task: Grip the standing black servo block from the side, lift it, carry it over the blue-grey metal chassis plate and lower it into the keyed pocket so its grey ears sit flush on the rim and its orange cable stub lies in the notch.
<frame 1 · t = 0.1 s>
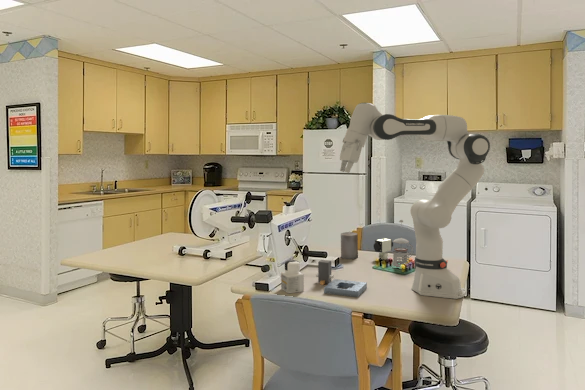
hand: (344, 171, 192), 52 cm above the table, tool tilted 20°, fingers open, 8 cm apart
french press: (402, 267, 241), on the table
pillar candle: (349, 257, 265), on the table
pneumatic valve: (382, 259, 260), on the table
servo block: (324, 282, 214), on the table
chassis plate: (345, 290, 201), on the table
container: (292, 290, 203), on the table
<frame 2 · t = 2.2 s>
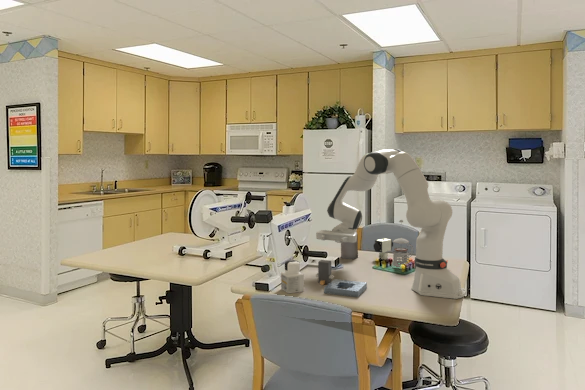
hand: (332, 239, 223), 18 cm above the table, tool horizontal, fingers open, 8 cm apart
nothing on the table moved.
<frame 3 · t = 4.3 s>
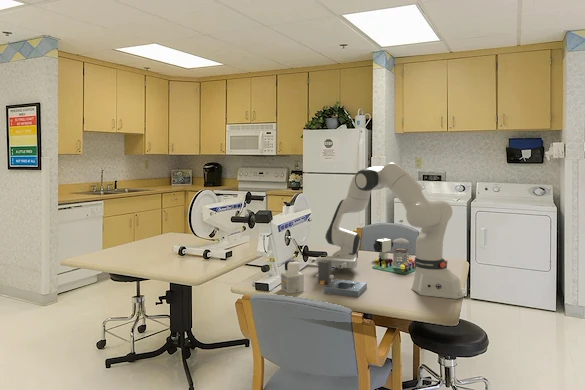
hand: (331, 265, 222), 6 cm above the table, tool horizontal, fingers open, 8 cm apart
nothing on the table moved.
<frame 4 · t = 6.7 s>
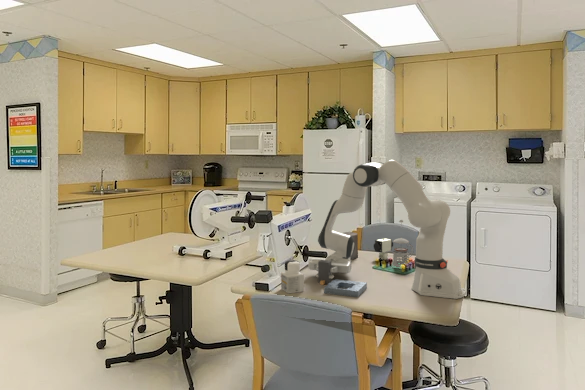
hand: (324, 270, 213), 6 cm above the table, tool horizontal, fingers closed on servo block, 5 cm apart
servo block: (324, 282, 214), on the table, touching gripper
everything else where it was.
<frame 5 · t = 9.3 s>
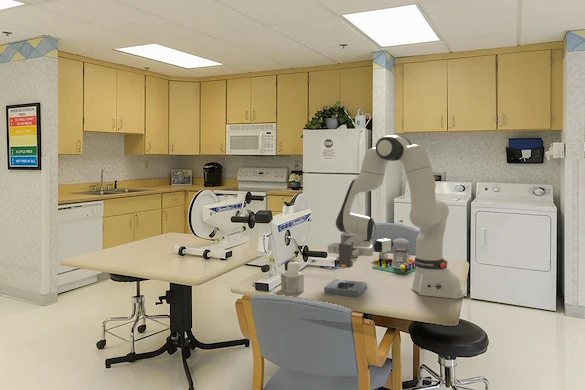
hand: (345, 252, 199), 17 cm above the table, tool horizontal, fingers closed on servo block, 5 cm apart
servo block: (345, 266, 200), point 11 cm above the table, touching gripper
everything else where it was.
when the fingers open (7 cm above the table, at t = 11.9 s): servo block drops 1 cm, resting in chassis plate.
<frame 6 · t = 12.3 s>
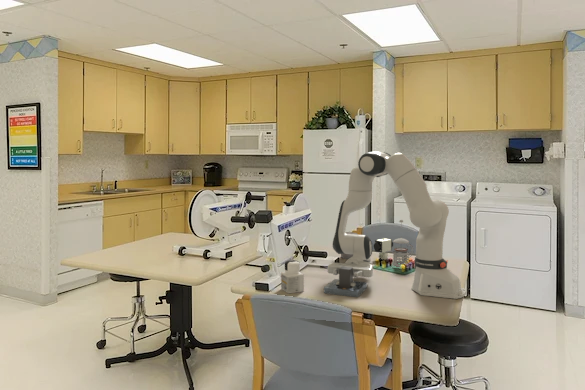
hand: (345, 274, 200), 7 cm above the table, tool horizontal, fingers open, 8 cm apart
servo block: (345, 290, 201), resting in chassis plate
everything else where it was.
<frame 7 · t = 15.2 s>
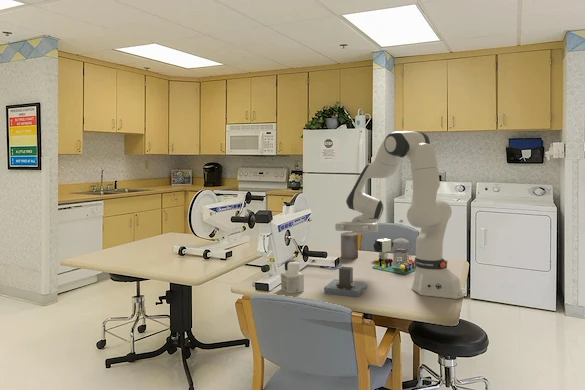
hand: (352, 229, 211), 25 cm above the table, tool horizontal, fingers open, 8 cm apart
nothing on the table moved.
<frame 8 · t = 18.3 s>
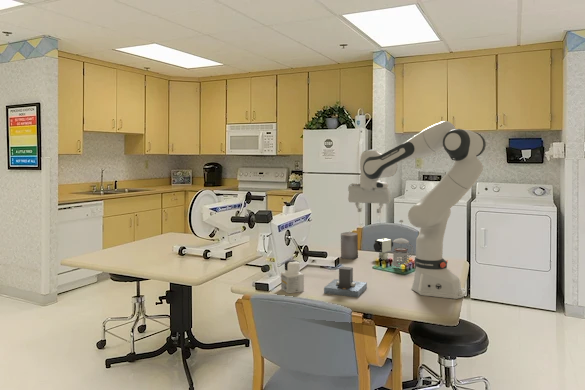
hand: (369, 212, 223), 31 cm above the table, tool pointing down, fingers open, 8 cm apart
nothing on the table moved.
at the end: servo block 0.1 cm off-centre on the chassis plate, point 0.0 cm above the chassis plate's base; servo block tilted 0°; the gripper is holding nothing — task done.
